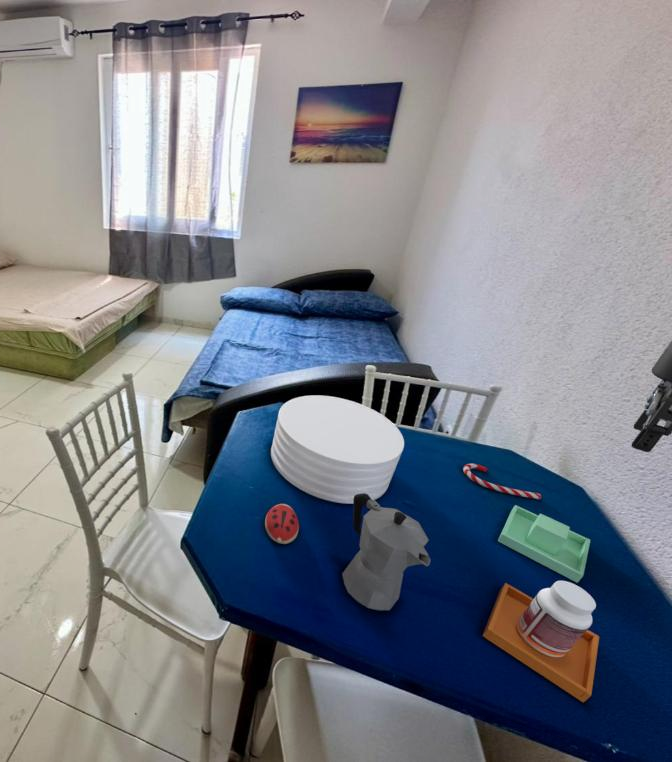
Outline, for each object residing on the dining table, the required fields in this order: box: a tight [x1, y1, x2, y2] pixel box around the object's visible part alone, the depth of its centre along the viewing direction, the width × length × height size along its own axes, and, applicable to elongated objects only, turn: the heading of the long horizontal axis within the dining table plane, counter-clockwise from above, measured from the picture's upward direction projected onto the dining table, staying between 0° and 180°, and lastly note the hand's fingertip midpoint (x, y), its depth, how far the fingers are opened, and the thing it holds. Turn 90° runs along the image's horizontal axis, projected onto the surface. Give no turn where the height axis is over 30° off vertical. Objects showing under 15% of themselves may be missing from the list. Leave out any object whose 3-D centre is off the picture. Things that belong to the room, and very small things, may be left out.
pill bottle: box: [517, 580, 597, 657], centre depth 62 cm, size 6×6×11 cm
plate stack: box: [270, 394, 405, 505], centre depth 100 cm, size 28×28×12 cm
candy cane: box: [462, 463, 542, 500], centre depth 97 cm, size 8×1×15 cm
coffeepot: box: [341, 493, 431, 611], centre depth 69 cm, size 15×9×18 cm, turn 16°
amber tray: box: [482, 582, 600, 704], centre depth 65 cm, size 12×12×2 cm
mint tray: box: [497, 504, 591, 584], centre depth 82 cm, size 12×12×2 cm
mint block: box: [525, 513, 571, 556], centre depth 81 cm, size 5×5×5 cm
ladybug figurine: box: [264, 503, 300, 545], centre depth 83 cm, size 7×10×4 cm
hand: (640, 439), depth 70 cm, fingers open, 8 cm apart
